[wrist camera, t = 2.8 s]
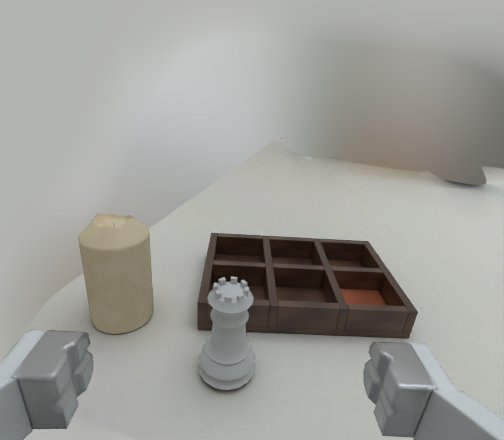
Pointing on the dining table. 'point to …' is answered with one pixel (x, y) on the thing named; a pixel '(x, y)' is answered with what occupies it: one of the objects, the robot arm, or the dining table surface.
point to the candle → (117, 272)
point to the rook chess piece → (228, 337)
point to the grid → (308, 286)
